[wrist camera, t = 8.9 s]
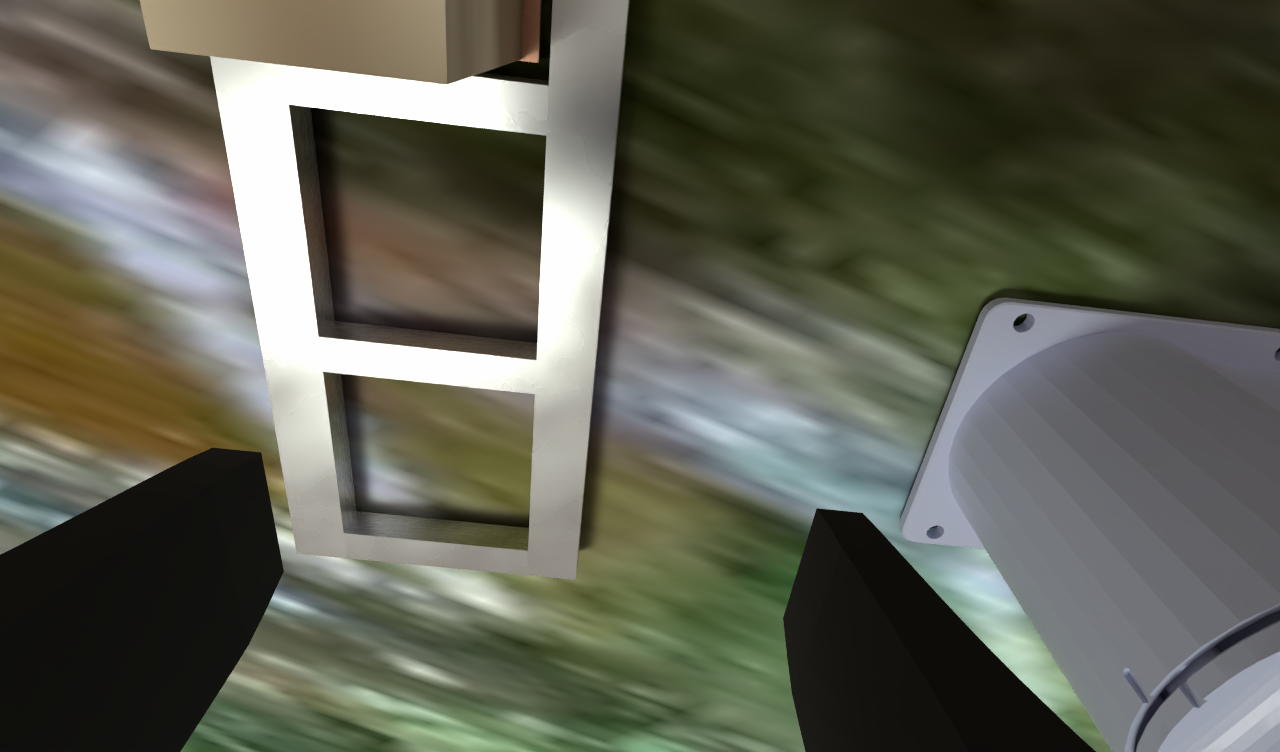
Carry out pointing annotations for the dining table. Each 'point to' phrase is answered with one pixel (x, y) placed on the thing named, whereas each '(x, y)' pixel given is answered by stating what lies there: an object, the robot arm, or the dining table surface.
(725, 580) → the dining table surface
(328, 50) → the block
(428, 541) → the white rectangular slotted frame
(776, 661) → the dining table surface
